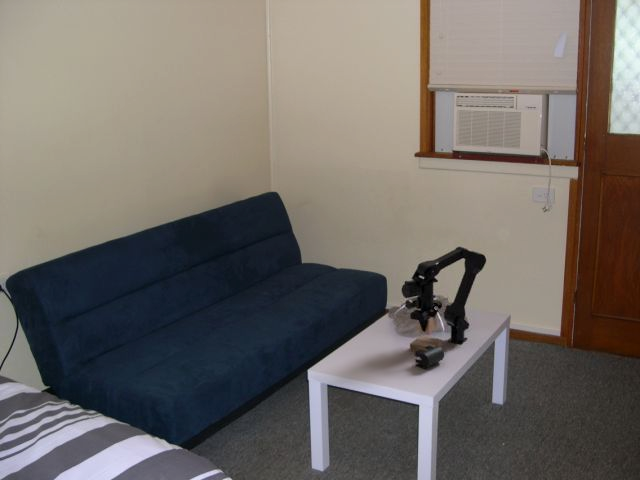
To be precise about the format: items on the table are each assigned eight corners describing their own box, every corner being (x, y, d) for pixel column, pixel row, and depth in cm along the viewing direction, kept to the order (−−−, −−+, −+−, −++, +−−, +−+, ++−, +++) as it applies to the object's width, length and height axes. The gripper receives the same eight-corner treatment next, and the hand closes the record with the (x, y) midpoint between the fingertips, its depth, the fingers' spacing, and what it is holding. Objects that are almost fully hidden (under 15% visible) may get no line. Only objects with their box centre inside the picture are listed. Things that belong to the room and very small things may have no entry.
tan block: (420, 342, 323) (420, 335, 322) (442, 346, 318) (442, 339, 317) (410, 350, 315) (410, 343, 314) (432, 355, 310) (432, 348, 309)
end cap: (428, 371, 295) (428, 355, 293) (414, 366, 300) (414, 350, 298) (444, 363, 301) (444, 347, 300) (430, 358, 306) (430, 343, 305)
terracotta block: (423, 329, 317) (423, 315, 316) (433, 330, 315) (433, 317, 314) (419, 332, 314) (419, 318, 312) (429, 334, 311) (429, 320, 310)
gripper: (418, 284, 322) (418, 319, 326) (398, 297, 307) (398, 333, 311) (442, 288, 316) (442, 323, 320) (423, 301, 301) (423, 338, 305)
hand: (426, 329), depth 314 cm, fingers closed on terracotta block, 4 cm apart
